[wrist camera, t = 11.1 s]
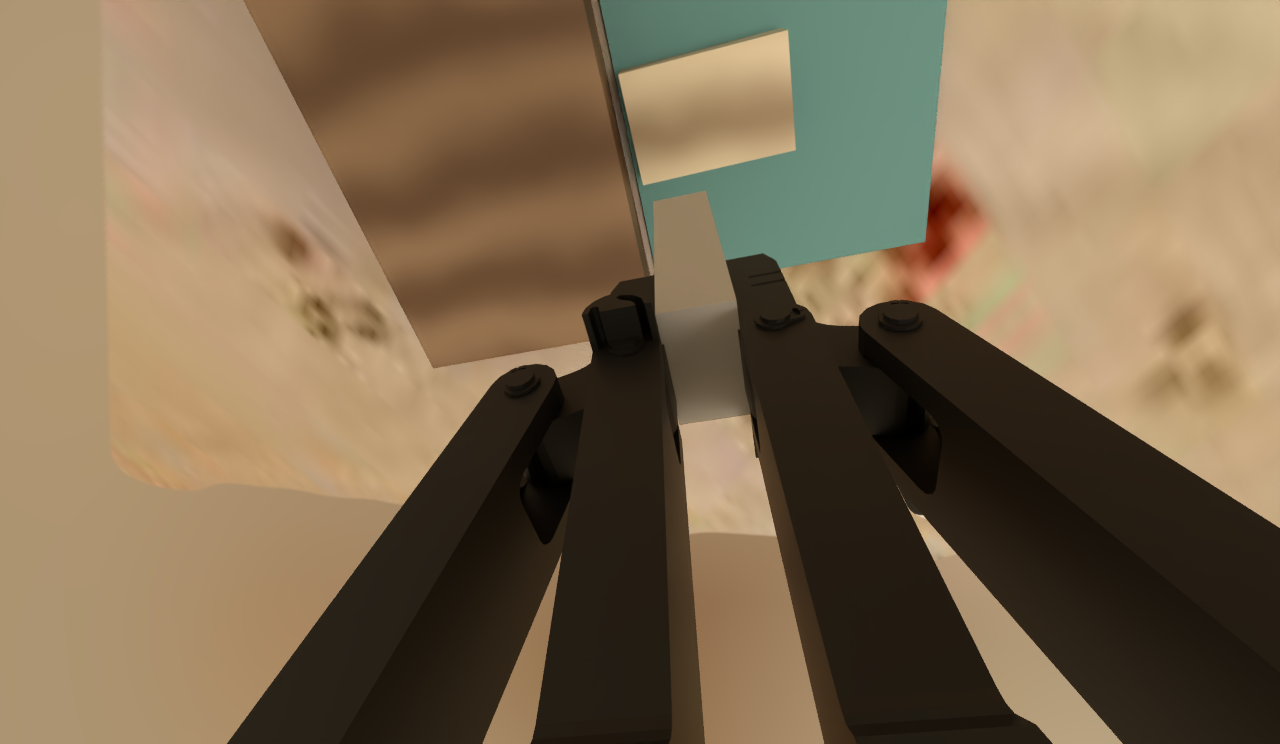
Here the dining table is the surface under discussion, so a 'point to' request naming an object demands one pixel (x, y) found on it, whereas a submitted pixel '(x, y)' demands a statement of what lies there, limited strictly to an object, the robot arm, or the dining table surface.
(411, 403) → the dining table surface
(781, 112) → the tile
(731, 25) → the mat
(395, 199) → the block
